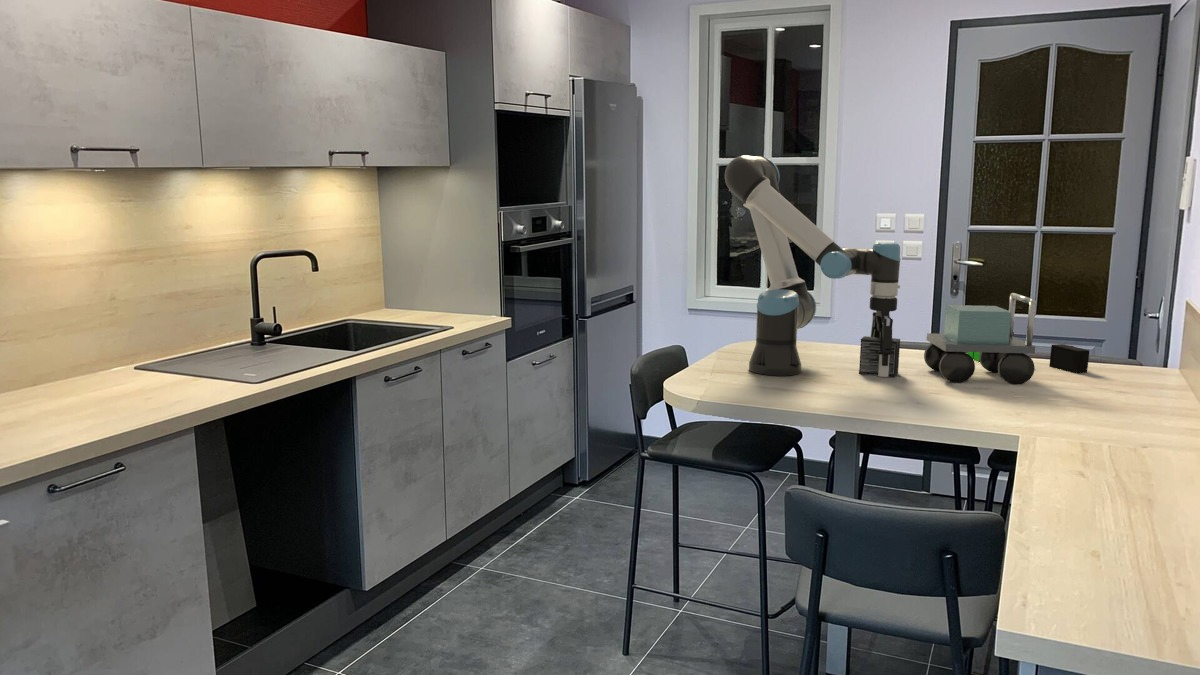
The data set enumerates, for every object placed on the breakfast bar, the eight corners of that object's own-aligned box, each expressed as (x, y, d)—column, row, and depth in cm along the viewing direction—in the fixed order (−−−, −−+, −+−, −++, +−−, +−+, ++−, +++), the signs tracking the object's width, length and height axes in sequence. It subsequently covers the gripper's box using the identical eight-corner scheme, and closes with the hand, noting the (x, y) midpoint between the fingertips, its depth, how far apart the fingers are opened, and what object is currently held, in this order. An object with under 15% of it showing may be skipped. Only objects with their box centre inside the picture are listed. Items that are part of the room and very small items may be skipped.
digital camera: (1090, 373, 261) (1093, 349, 260) (1076, 373, 260) (1078, 350, 259) (1063, 366, 271) (1066, 343, 270) (1049, 366, 270) (1051, 344, 269)
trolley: (940, 383, 246) (947, 298, 242) (922, 369, 264) (928, 290, 259) (1033, 385, 244) (1041, 300, 240) (1008, 371, 262) (1016, 292, 258)
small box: (898, 373, 258) (901, 338, 257) (896, 377, 253) (898, 341, 251) (861, 369, 263) (863, 335, 261) (858, 374, 257) (860, 338, 255)
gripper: (907, 301, 243) (901, 381, 247) (887, 292, 264) (883, 365, 268) (879, 301, 243) (874, 380, 247) (862, 291, 265) (858, 364, 269)
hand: (879, 372), depth 258 cm, fingers open, 9 cm apart
